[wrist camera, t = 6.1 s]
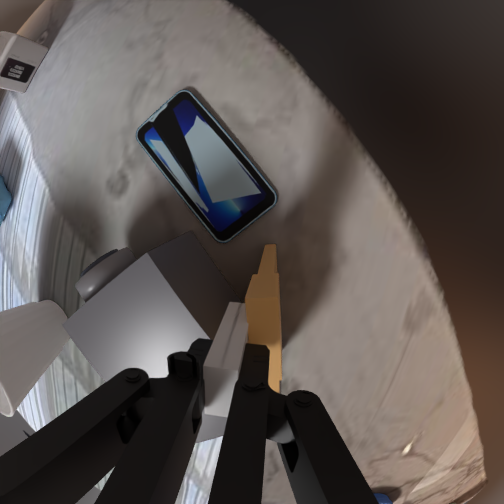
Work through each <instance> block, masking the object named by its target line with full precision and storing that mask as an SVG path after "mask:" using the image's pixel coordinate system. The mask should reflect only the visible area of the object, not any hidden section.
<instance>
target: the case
mask: <svg viewBox="0 0 504 504" xmlns="http://www.w3.org/2000/svg"><path fill="white" fill-rule="evenodd" d="M80 276H81V278H80V279H79V281H78V282H77V283H76V284H75V287H76V289H77V290H78V292H79V294H80V295H81V297H82V298H83V300H84V301H85V304H84V305H83V306H82V307H81V308H79V309H78V310H77V311H76V312H75V313H74V314H73V315H72V316H71V317H69V318H68V319H67V320H66V321H65V322H64V323H63V324H62V326H63V327H64V329H65V330H66V332H67V333H68V335H69V336H70V337H71V339H72V340H73V342H74V343H75V344H76V346H77V347H78V348H79V350H80V351H81V352H82V354H83V355H84V356H85V358H86V359H87V360H88V361H89V363H90V364H91V365H92V366H93V368H94V369H95V370H96V371H97V373H98V374H99V375H100V376H101V377H102V379H103V380H104V381H105V382H107V381H108V380H110V379H111V378H112V377H114V376H115V375H116V374H118V373H119V372H121V371H122V370H124V369H127V368H140V369H143V370H144V371H146V372H147V374H148V375H149V378H164V377H167V375H168V374H169V373H168V363H167V357H168V356H169V355H170V354H172V353H174V352H180V351H186V352H187V351H188V349H189V348H190V346H191V344H192V342H194V341H195V340H197V339H198V338H203V339H210V340H214V338H215V336H216V333H217V331H218V329H219V326H220V324H221V322H222V319H223V317H224V314H225V312H226V310H227V307H228V305H229V302H237V303H242V302H241V301H240V299H239V298H238V297H237V295H236V294H235V292H234V291H233V290H232V288H231V287H230V285H229V284H228V283H227V281H226V280H225V278H224V277H223V275H222V274H221V273H220V271H219V270H218V268H217V267H216V266H215V264H214V263H213V261H212V260H211V258H210V257H209V256H208V254H207V253H206V251H205V250H204V248H203V247H202V245H201V244H200V242H199V241H198V240H197V238H196V237H195V235H194V234H193V232H192V231H189V232H187V233H185V234H183V235H181V236H179V237H177V238H175V239H173V240H171V241H169V242H167V243H165V244H163V245H161V246H159V247H156V248H154V249H152V250H150V251H149V252H147V253H145V254H144V255H143V256H142V257H140V258H139V259H138V260H136V258H135V257H134V255H133V254H132V252H131V250H130V249H129V248H128V247H126V248H123V249H121V250H119V251H118V250H117V249H115V250H112V251H110V252H108V253H106V254H105V255H103V256H101V257H100V258H98V259H97V260H96V261H94V262H93V263H92V264H90V265H89V266H88V267H87V268H86V269H85V270H84V271H83V272H82V273H81V275H80ZM226 422H227V417H221V416H215V415H209V414H205V410H204V409H203V412H202V424H201V427H200V430H199V433H198V436H197V439H196V442H195V443H199V442H203V441H207V440H210V439H214V438H217V437H221V436H223V435H224V431H225V426H226Z"/></svg>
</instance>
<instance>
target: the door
mask: <svg viewBox="0 0 504 504" xmlns="http://www.w3.org/2000/svg"><path fill="white" fill-rule="evenodd" d="M245 306H246V317H247V323H248V338H249V343H250V344H261V345H266V346H267V347H268V349H269V350H270V359H269V377H268V383H269V386H270V388H271V389H273V390H274V391H275V392H277V393H279V394H281V380H282V331H281V307H280V286H279V273H278V272H277V255H276V244H267V245H265V247H264V251H263V255H262V259H261V263H260V266H259V270H258V274H253V275H252V278H251V281H250V284H249V287H248V290H247V293H246V297H245Z"/></svg>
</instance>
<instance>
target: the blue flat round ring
mask: <svg viewBox="0 0 504 504" xmlns="http://www.w3.org/2000/svg"><path fill="white" fill-rule="evenodd" d="M373 494H374V496H375V497H376V499H377V501H378V503H379V504H393V503H392V501H391V500H389V497H388V496H387V495H385V494H380V493H373Z"/></svg>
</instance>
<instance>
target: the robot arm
mask: <svg viewBox="0 0 504 504" xmlns="http://www.w3.org/2000/svg"><path fill="white" fill-rule="evenodd" d="M269 359H270V350H269V349H268V347H267V346H266V345H261V344H250V343H249V338H248V323H247V317H246V306H245V303H237V302H229V305H228V307H227V310H226V312H225V314H224V317H223V319H222V322H221V324H220V326H219V329H218V331H217V333H216V336H215V338H214V340H210V339H203V338H198V339H197V340H195V341H194V342H192V344H191V346H190V348H189V349H188V351H187V352H186V351H180V352H174V353H172V354H170V355H169V356H168V357H167V363H168V373H169V374H168V375H167V377H164V378H149V375H148V374H147V372H146V371H144V370H143V369H140V368H127V369H124V370H122V371H121V372H119V373H118V374H116V375H115V376H114V377H112V378H111V379H110V380H108V381H107V382H105V383H104V384H103V385H101V386H100V387H99V388H97V389H96V390H94V391H93V392H92V393H90V394H89V395H88V396H86V397H85V398H83V399H82V400H81V401H79V402H78V403H76V404H75V405H74V406H72V407H71V408H69V409H68V410H67V411H65V412H64V413H62V414H61V415H60V416H58V417H57V418H55V419H54V420H53V421H51V422H50V423H48V424H47V425H45V426H44V427H43V428H41V429H40V430H38V431H37V432H35V433H34V434H33V435H31V436H30V437H28V438H27V439H25V440H24V441H22V442H21V443H20V444H18V445H17V446H15V447H14V448H12V449H11V450H9V451H8V452H6V453H5V454H4V455H2V456H1V457H0V504H75V503H76V502H78V500H80V499H81V498H82V497H83V496H84V495H85V494H86V493H87V492H88V491H89V490H91V489H92V488H93V487H94V486H95V485H96V484H97V483H98V482H99V481H100V480H101V479H102V478H103V477H104V476H105V475H106V474H107V473H108V472H109V471H110V470H111V469H112V468H113V467H114V466H115V468H114V469H113V471H112V473H111V475H110V477H109V478H108V480H107V482H106V484H105V485H104V487H103V489H102V491H101V493H100V495H99V496H98V498H97V500H96V502H95V503H94V504H175V501H176V498H177V495H178V493H179V490H180V487H181V484H182V481H183V478H184V475H185V472H186V469H187V466H188V463H189V460H190V457H191V454H192V451H193V448H194V445H195V442H196V439H197V436H198V433H199V430H200V427H201V424H202V412H203V409H204V410H205V414H209V415H215V416H221V417H227V422H226V426H225V431H224V435H223V440H222V444H221V449H220V453H219V457H218V462H217V466H216V470H215V475H214V479H213V483H212V488H211V492H210V496H209V500H208V504H261V499H262V487H263V474H264V460H265V446H266V439H269V440H272V441H275V442H277V445H278V448H279V451H280V454H281V458H282V461H283V464H284V467H285V470H286V473H287V476H288V479H289V482H290V485H291V488H292V491H293V493H294V496H295V499H296V502H297V504H379V503H378V501H377V499H376V497H375V496H374V494H373V492H372V490H371V489H370V487H369V485H368V483H367V482H366V480H365V478H364V476H363V475H362V473H361V471H360V469H359V468H358V466H357V464H356V462H355V461H354V459H353V457H352V455H351V453H350V452H349V450H348V448H347V446H346V445H345V443H344V441H343V439H342V437H341V436H340V434H339V432H338V430H337V429H336V427H335V425H334V423H333V421H332V420H331V418H330V416H329V414H328V412H327V411H326V409H325V407H324V405H323V403H322V402H321V400H320V398H319V397H318V396H317V395H316V394H314V393H312V392H309V391H305V390H297V391H293V392H291V393H290V394H288V396H286V395H282V394H279V393H277V392H275V391H274V390H273V389H271V388H270V386H269V383H268V377H269Z"/></svg>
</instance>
